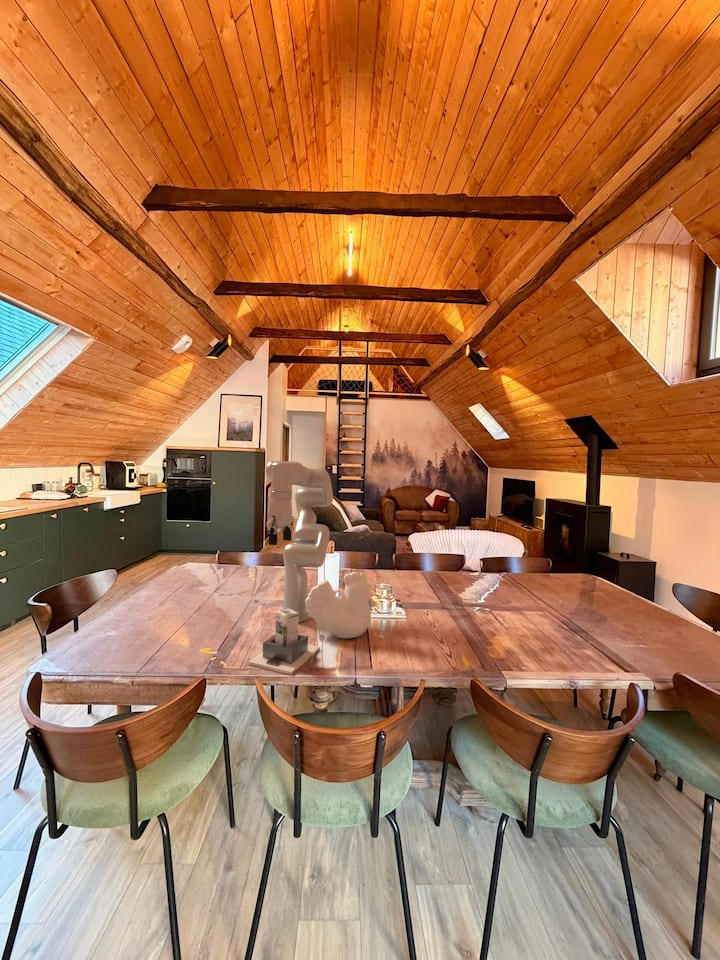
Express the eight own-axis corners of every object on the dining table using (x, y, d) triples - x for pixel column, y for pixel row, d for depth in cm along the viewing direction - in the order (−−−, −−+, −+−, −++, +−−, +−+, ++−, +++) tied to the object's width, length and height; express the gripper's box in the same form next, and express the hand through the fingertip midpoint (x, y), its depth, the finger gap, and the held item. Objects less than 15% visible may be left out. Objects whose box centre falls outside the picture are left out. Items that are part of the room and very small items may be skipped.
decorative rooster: (372, 628, 177) (374, 567, 175) (367, 645, 161) (369, 578, 160) (312, 622, 180) (314, 563, 179) (301, 638, 165) (303, 573, 163)
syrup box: (273, 653, 149) (275, 611, 149) (288, 648, 154) (289, 607, 153) (283, 659, 145) (285, 616, 145) (298, 653, 150) (299, 611, 149)
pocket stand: (280, 641, 161) (281, 625, 161) (319, 649, 156) (320, 633, 155) (248, 664, 143) (248, 646, 142) (291, 675, 137) (291, 656, 137)
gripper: (284, 493, 170) (283, 537, 170) (259, 497, 153) (257, 545, 154) (302, 495, 167) (300, 539, 168) (277, 498, 151) (276, 547, 152)
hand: (280, 542), depth 161 cm, fingers open, 9 cm apart
